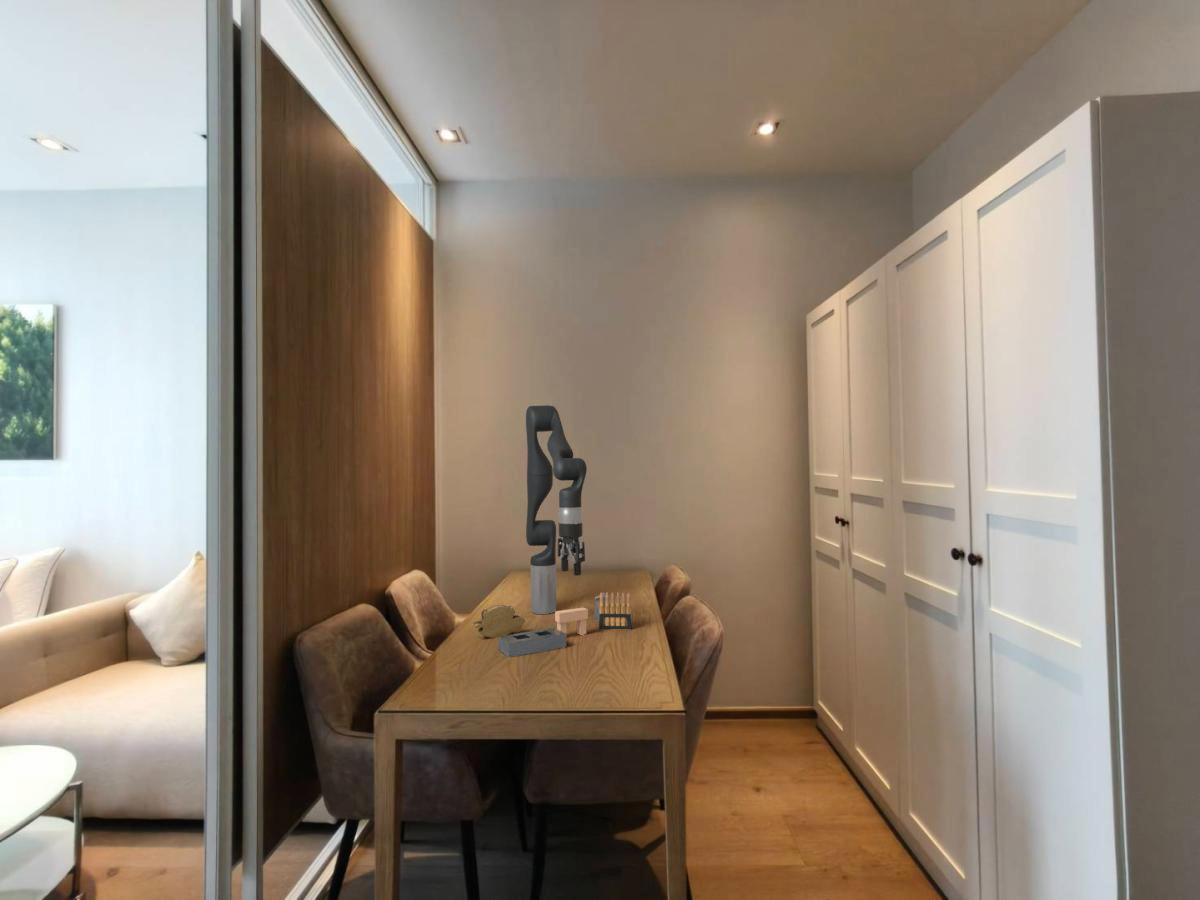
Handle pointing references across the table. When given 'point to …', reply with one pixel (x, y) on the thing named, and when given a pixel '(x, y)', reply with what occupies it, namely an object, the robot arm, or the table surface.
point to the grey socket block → (532, 642)
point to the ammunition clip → (621, 613)
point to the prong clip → (572, 619)
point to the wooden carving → (499, 621)
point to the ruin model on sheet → (596, 606)
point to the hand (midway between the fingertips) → (571, 573)
